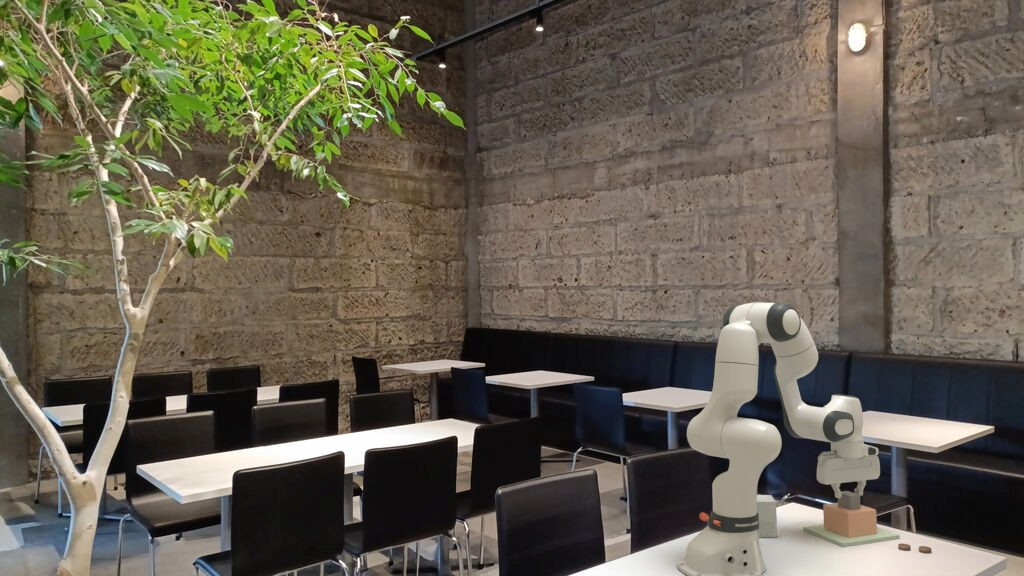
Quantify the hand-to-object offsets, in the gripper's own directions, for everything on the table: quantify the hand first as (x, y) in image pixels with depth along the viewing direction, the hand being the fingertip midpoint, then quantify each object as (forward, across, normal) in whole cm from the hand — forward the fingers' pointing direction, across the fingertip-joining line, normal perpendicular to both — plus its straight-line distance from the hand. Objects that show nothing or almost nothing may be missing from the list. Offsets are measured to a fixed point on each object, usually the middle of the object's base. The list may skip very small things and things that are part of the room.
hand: (849, 496), depth 212 cm
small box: (+11, -22, +10) cm, 27 cm away
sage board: (+11, 0, 0) cm, 11 cm away
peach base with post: (+10, 0, 0) cm, 10 cm away
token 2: (+11, +8, -19) cm, 23 cm away
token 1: (+11, +4, -15) cm, 19 cm away
